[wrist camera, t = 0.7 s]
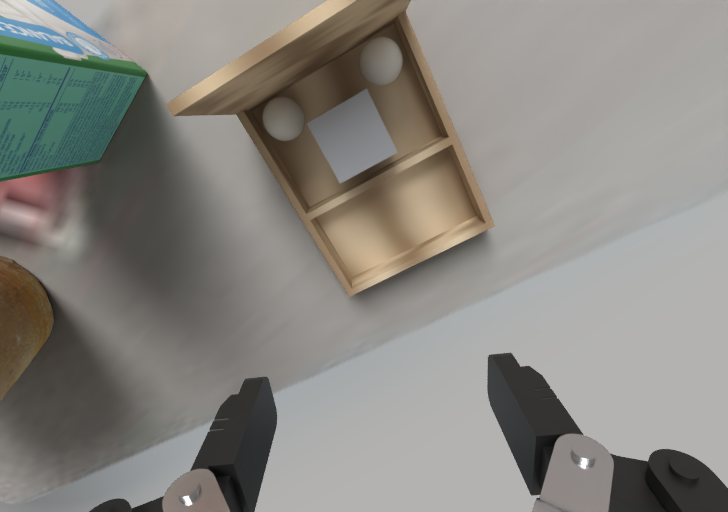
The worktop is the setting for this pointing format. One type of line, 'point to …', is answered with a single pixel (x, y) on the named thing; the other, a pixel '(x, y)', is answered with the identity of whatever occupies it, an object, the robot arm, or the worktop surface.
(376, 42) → the pebble
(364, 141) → the gray rectangular block
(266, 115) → the pebble
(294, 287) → the worktop surface
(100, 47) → the milk carton
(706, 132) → the worktop surface
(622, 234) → the worktop surface
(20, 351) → the potted plant
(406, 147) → the divided box
